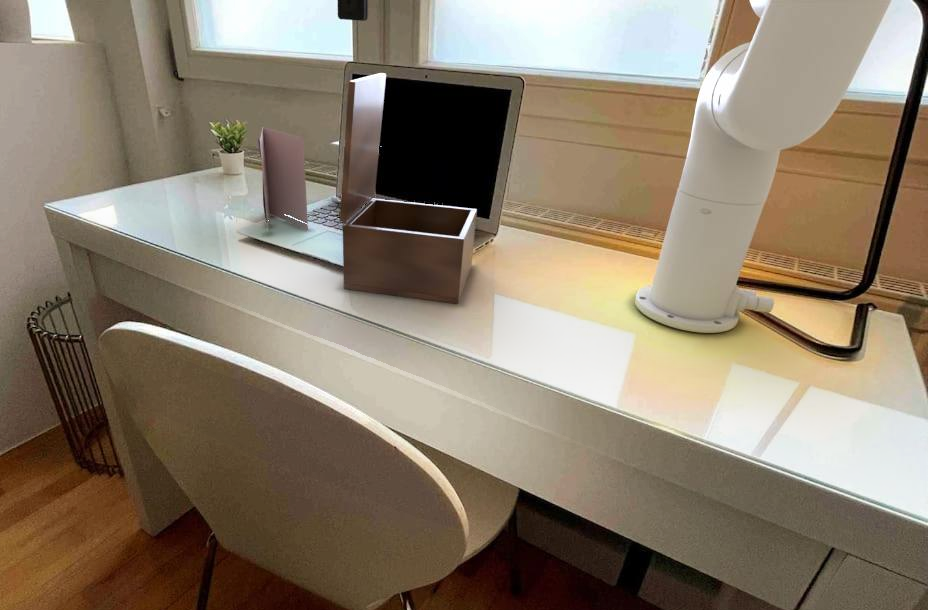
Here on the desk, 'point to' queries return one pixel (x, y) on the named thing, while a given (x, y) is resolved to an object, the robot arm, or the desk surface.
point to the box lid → (361, 142)
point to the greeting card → (283, 177)
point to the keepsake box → (409, 249)
